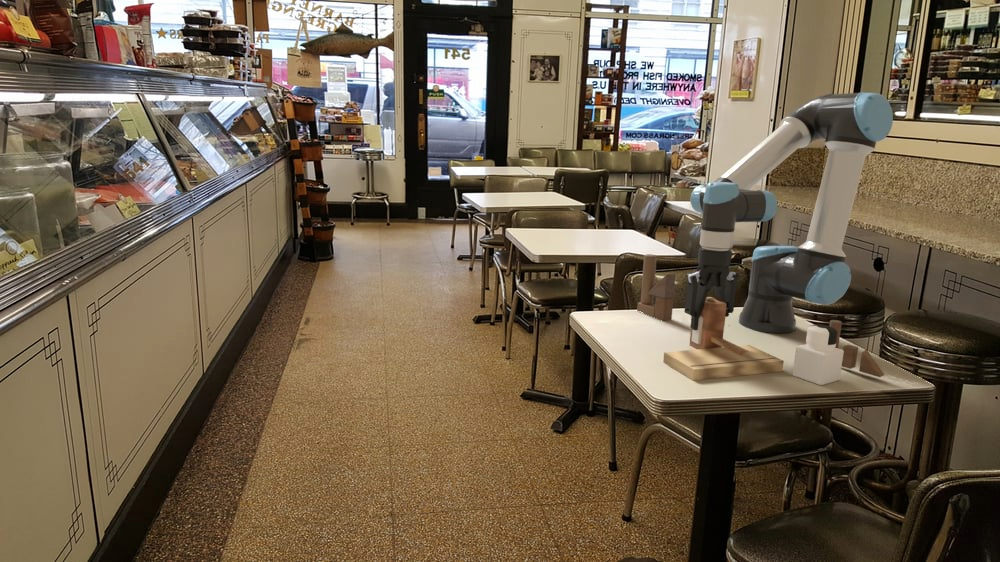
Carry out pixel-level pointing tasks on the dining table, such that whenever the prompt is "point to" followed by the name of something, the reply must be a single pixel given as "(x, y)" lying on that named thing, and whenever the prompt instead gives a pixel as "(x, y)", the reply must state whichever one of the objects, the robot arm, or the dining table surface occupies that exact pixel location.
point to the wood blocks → (866, 361)
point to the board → (721, 362)
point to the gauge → (715, 328)
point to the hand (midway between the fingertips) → (705, 341)
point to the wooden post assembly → (656, 291)
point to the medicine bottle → (819, 356)
